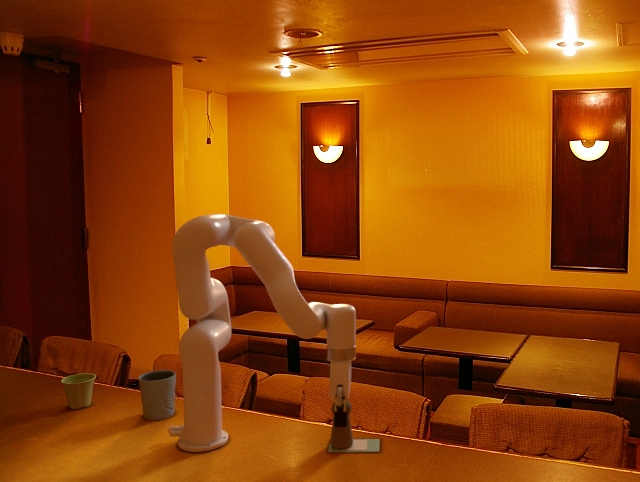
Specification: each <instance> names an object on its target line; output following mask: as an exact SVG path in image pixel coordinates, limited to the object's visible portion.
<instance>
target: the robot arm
mask: <svg viewBox="0 0 640 482" xmlns="http://www.w3.org/2000/svg"><path fill="white" fill-rule="evenodd" d="M275 240H276V235H275V231H274V229H273V227H272V226H271V225H270V224H269V223H268V222H265V221H264V220H263V221H262V220H259V219H253V218H252V219H251V218H246V217H242V216H235V215H230V214H224V213H213V214H206V215H205V214H204V215H200V216H196V217H194V218H191V219H189V220H188V221H186V222H184V224H182V225H181V226H180V227H179V228H178V230H177V231H176V232H175V235H174V237H173V240H172V247H171V250H172V251H171V252H172V259H173V264H174V271H175V282H176V291H177V299H178V307H179V310H180V313H181V314H182V315H183V316H184V318H187V319H189V320H195V321H196V323H195V324H193V325H191V326H190V327H188V328H187V329H186V330H185V331H184V332H183V334H182V335H181V337H180V340H179V344H178V351H179V352H178V353H179V358H180V362H181V371H182V389H183V393H182V394H183V424H181V425H178V426H177V425H169V426H168V434H169V437H172V438H173V437H179V438H178V440H177V447H178V448H179V449H180V450H182V451H185V452H189V453H202V452H209V451H212V450H216V449H219V448H221V447H222V446H224V445H225V444H227V443H228V441H229V433H228V432H227V431H225V430H224V429H223V413H222V412H223V409H222V407H223V405H222V404H223V403H222V402H223V401H222V370H221V365H220V360H219V352H220V351H221V350H223V349H224V348H225V347H226V346H227V345H228V344H229V343H230V341H231V338H232V321H231V313H230V304H229V297H228V292H227V290H226V287H225V286H224V284H223V283H222V282H221V281H219V280H218V279H216V278H214V277H211V268H210V262H209V259H208V256H207V254H206V252H207V250H208V249H212V248H214V247H215V248H216V247H219V246H227V247H231V248H236V249H237V251H238V253H239V254H240V255H241V257H242V258H243V260H245V262H246V263H247V264H248V265H249V266H250V268H251V269H252V270H253V272H254V273H255V274H256V276H257V277H258V278H259V279H260V281H261V282H262V284H263V286H264V287H265V289H266V292H267V295H268V296H269V298H270V301H271V303H272V306H273V307H274V309H275V310H276V312H277V314H278V316H279V317H280V318H281V319H282V320H283V322H284V323H285V324H286V326H287V327H288V329H290V331H291V332H292V333H293V334H294V335H295V336H297V337H298V338H300V339H304V340H309V339H310V340H311V339H313V338H315V337H318V335H319V334H320V333H321V332H322V331H326V361H328V362H330V364H329V366H330V367H329V397H328V398H329V401H331V402H332V401H334V402H335V411H334V415H333V416H334V426H335V427H346V426H347V411H346V401H348V402H349V399H350V398H349V397H350V393H351V387H352V386H351V385H352V362H354V361H356V359H357V312H356V311H357V310H356V308H355V307H354V305H351V304H347V303H338V304H336V303H335V304H329V303H323V302H316V301H311V302H308V301H306V299H305V298H304V296H303V295H302V293H301V291H300V290H299V288H298V285H297V283H296V279H295V274H294V273H295V271H294V267H293V265H292V263H291V262H290V260H289V259H288V258H287V257H286V256H285V254H284V253H283V251H282V250H281V249H280V248H279V246H278V245H277V244H276V243H275ZM342 402H344V405H343V404H342Z"/></svg>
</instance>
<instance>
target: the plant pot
mask: <svg viewBox="0 0 640 482" xmlns="http://www.w3.org/2000/svg"><path fill="white" fill-rule="evenodd" d="M96 378H97V375H96V373H95V374H94V373H90V372H89V373H88V372H87V373H83V372H82V373H76V374H71V375H68V376H65V377H63V378H62V379H61V380H60V382H61V384H62V386H63V388H64V392H65V396H66V397H65V398H66V402H67V407H68V408H69V409H71V410H79V409H81V408H87V407H89V406H91V404H92V396H93V390H94V383H95V379H96Z"/></svg>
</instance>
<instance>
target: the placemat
mask: <svg viewBox="0 0 640 482" xmlns="http://www.w3.org/2000/svg"><path fill="white" fill-rule="evenodd" d="M380 442H381V439H380V438H353V445H352V446H350V447H347V448H335V447H332V446H331V445H330V444H329V446H328V451H327V453H329V454H330V453H331V454H332V453H335V454H336V453H337V454H338V453H344V454H345V453H380V448H381V447H380Z"/></svg>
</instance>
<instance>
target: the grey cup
mask: <svg viewBox="0 0 640 482" xmlns="http://www.w3.org/2000/svg"><path fill="white" fill-rule="evenodd" d="M176 380H177V373H176V371H174V370H169V369H159V370H158V369H157V370H152V371H148V372H145V373H142V374H141V375H139V376H138V385H139V390H140V391H139V392H140V399H141V404H142V416H143V419H145V420H146V421H162V420H166V419H169V418H171V417H173V416H174V415H175V412H176V409H175V408H176V406H175V405H176V403H175V400H176V392H175V391H176V390H175V389H176V382H177V381H176Z"/></svg>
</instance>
